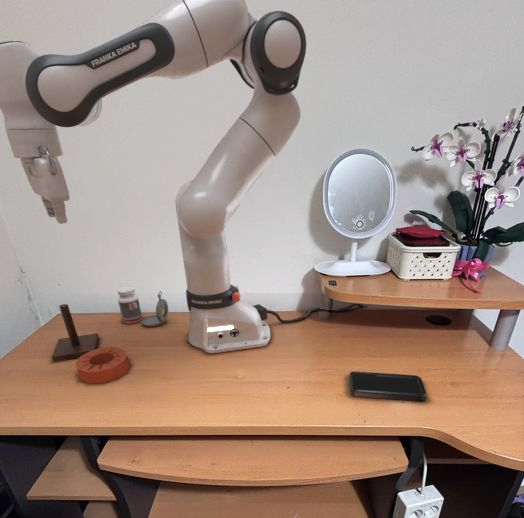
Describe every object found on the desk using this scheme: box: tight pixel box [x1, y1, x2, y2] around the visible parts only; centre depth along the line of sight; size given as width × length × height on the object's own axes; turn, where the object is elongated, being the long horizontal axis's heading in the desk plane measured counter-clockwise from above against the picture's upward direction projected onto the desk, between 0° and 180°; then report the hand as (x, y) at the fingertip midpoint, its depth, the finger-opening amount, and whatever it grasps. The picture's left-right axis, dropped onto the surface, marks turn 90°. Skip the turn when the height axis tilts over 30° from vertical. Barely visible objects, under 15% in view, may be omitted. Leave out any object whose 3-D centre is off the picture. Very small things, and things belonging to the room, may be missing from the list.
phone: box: [348, 370, 427, 402], centre depth 80 cm, size 8×1×15 cm
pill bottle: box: [117, 286, 143, 325], centre depth 112 cm, size 6×6×10 cm
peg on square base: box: [51, 303, 100, 362], centre depth 97 cm, size 10×10×12 cm
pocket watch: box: [140, 291, 169, 328], centre depth 109 cm, size 8×8×10 cm
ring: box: [75, 346, 131, 385], centre depth 89 cm, size 11×11×3 cm
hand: (57, 219), depth 81 cm, fingers open, 8 cm apart
